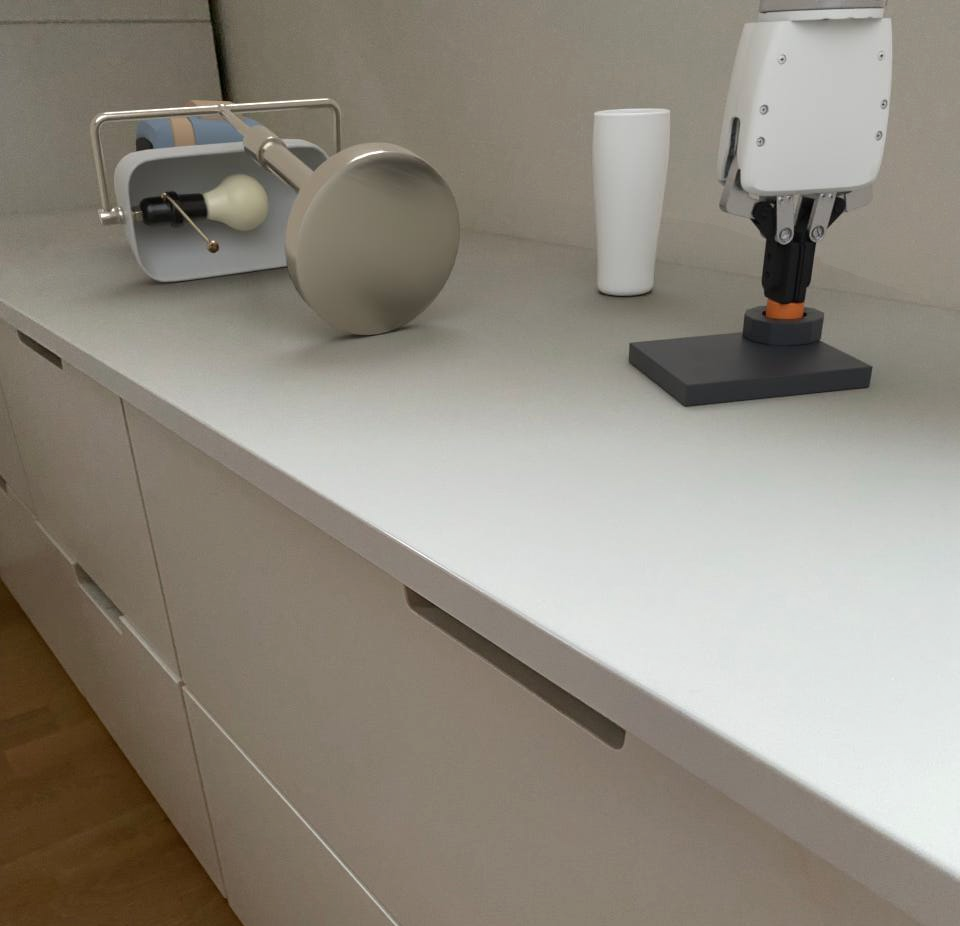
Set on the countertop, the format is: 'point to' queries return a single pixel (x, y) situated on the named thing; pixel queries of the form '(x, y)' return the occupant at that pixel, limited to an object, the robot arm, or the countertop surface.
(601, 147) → the drinking glass
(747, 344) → the scale
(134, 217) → the lamp
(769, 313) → the button
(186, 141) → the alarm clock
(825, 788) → the countertop surface
